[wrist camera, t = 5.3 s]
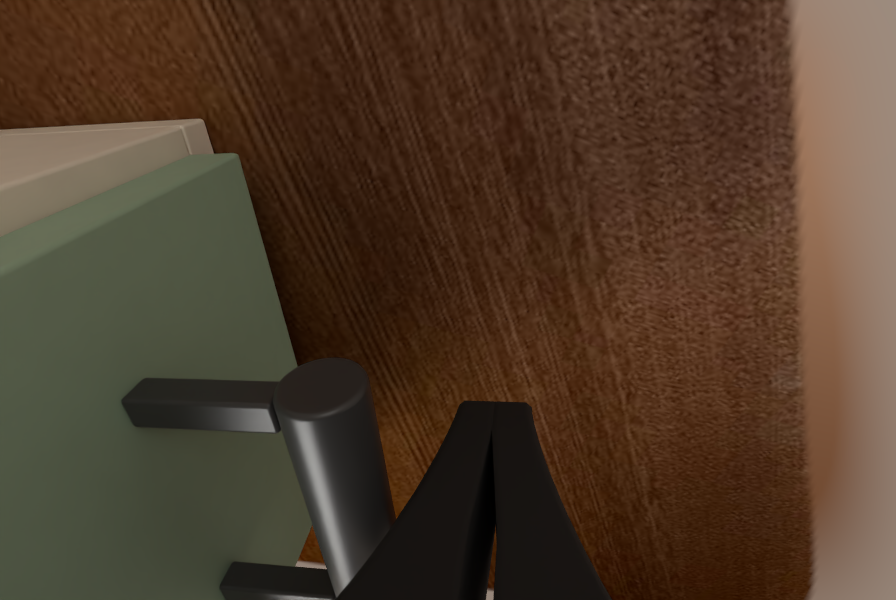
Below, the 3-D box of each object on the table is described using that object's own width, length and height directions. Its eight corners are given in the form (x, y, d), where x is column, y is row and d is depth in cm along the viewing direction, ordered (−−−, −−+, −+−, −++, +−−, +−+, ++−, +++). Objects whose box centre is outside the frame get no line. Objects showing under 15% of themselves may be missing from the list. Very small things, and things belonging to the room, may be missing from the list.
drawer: (413, 143, 10) (200, 404, 3) (449, 488, 15) (393, 859, 9) (-215, 172, 13) (-1070, 356, 6) (0, 461, 18) (-316, 734, 11)
